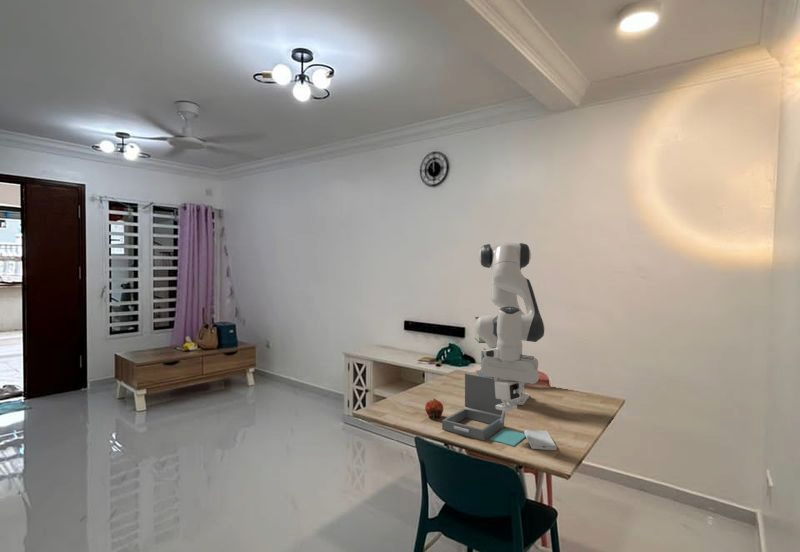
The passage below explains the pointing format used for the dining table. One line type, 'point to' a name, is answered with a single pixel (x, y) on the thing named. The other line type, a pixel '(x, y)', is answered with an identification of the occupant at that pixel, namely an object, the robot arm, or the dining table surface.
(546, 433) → the hard drive
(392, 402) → the dining table surface
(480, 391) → the equipment case
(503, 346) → the robot arm
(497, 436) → the teal mat
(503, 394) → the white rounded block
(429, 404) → the pomegranate
